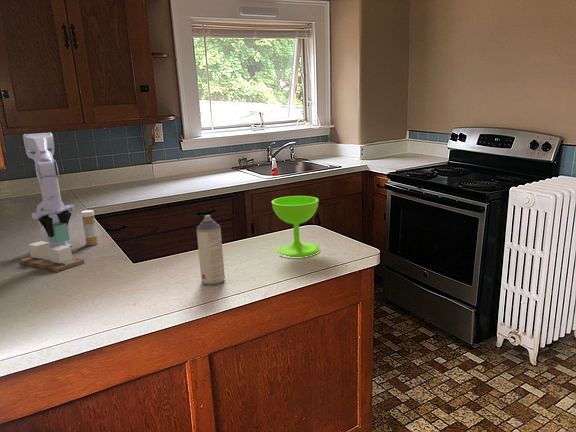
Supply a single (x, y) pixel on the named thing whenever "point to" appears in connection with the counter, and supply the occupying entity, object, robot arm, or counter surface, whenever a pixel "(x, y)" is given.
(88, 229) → the sprinkles bottle
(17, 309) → the counter surface
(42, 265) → the rail board
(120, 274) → the counter surface
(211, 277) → the aerosol can
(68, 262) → the rail
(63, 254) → the mounted modules
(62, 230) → the block
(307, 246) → the wineglass
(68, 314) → the counter surface
